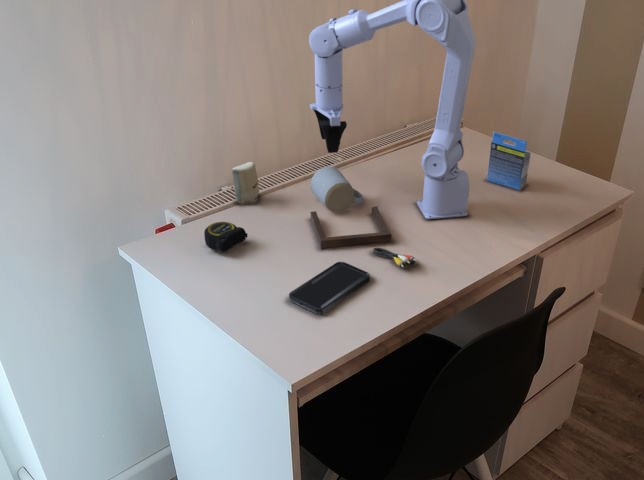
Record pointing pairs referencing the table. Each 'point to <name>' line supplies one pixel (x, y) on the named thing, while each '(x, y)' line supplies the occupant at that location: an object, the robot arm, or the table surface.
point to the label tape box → (508, 162)
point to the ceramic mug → (334, 189)
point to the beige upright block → (246, 183)
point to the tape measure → (223, 236)
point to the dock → (353, 240)
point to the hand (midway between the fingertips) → (329, 145)
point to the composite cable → (395, 257)
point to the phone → (329, 287)
